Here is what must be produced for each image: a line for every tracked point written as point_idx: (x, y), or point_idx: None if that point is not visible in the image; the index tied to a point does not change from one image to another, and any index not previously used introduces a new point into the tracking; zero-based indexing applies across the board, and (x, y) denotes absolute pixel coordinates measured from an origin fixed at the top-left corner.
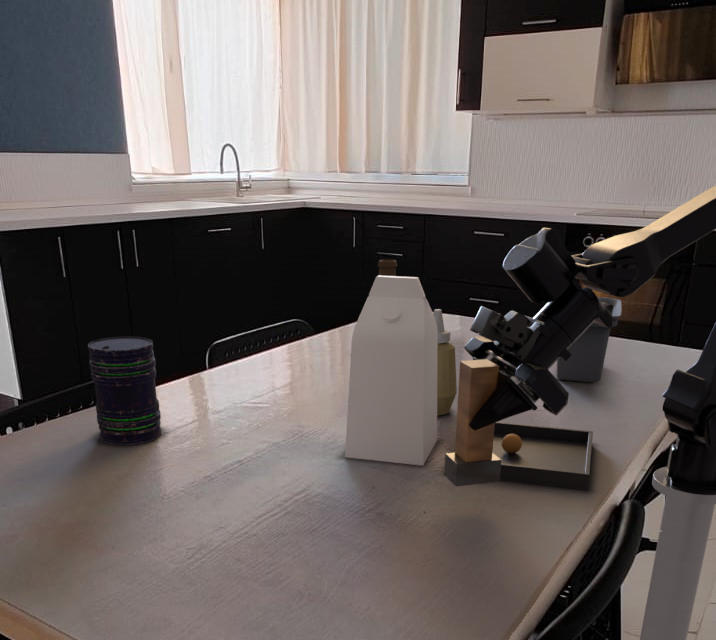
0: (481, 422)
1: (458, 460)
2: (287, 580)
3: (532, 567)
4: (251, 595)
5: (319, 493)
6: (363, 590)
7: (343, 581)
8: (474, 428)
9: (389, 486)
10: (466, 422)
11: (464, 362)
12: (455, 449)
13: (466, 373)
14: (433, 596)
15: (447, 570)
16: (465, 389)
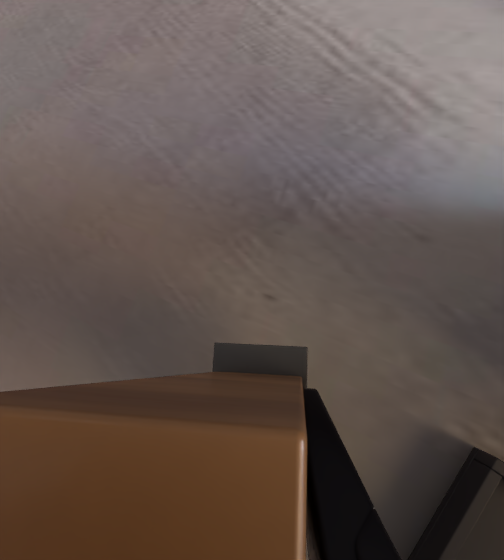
0: None
1: (239, 359)
2: (127, 52)
3: (16, 387)
4: (111, 14)
5: (413, 132)
6: (67, 131)
7: (97, 113)
8: None
9: (420, 273)
10: (191, 376)
11: (189, 450)
12: (294, 376)
13: (109, 397)
14: (16, 209)
15: (65, 253)
16: (171, 386)
